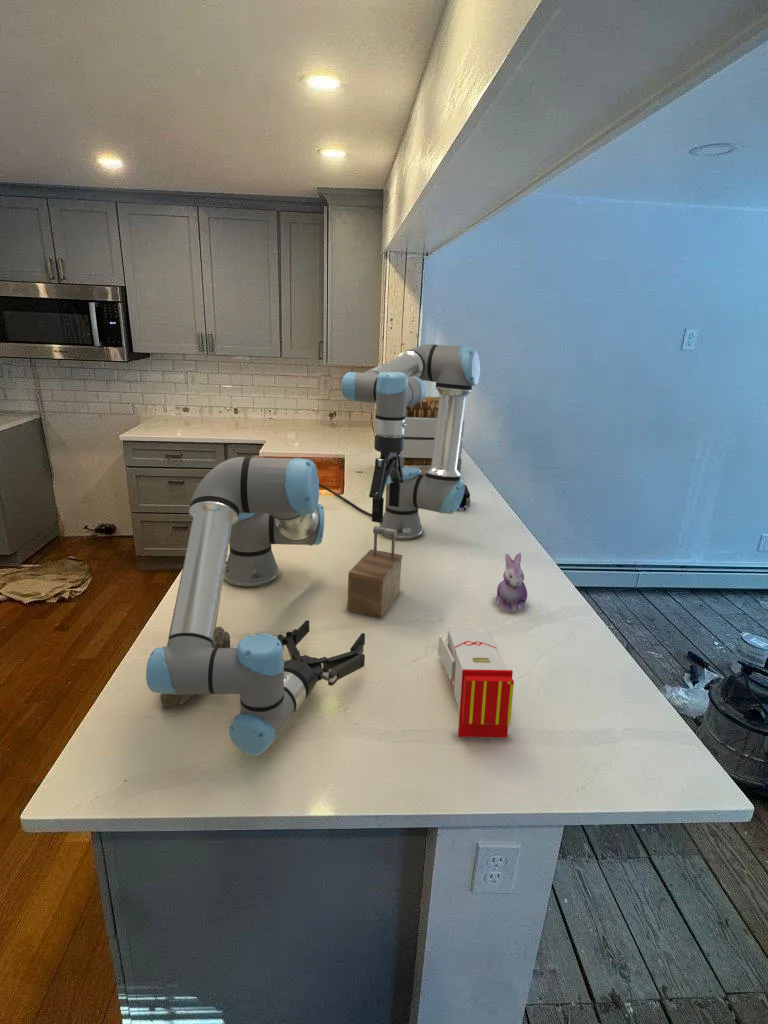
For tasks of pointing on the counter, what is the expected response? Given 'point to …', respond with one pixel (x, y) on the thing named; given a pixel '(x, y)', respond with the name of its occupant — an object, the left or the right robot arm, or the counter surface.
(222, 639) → the fossil
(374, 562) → the lid
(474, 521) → the counter surface
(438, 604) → the counter surface
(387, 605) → the chest
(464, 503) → the figurine character
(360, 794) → the counter surface
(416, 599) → the counter surface
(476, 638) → the toy
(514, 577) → the figurine
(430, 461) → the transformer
